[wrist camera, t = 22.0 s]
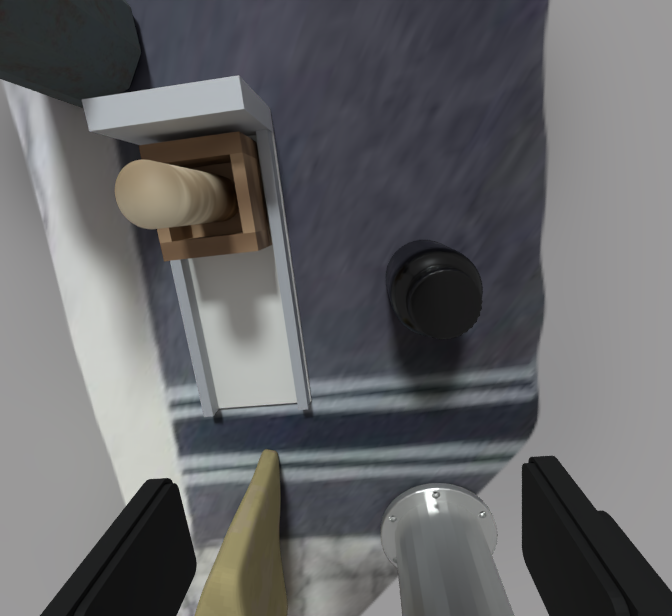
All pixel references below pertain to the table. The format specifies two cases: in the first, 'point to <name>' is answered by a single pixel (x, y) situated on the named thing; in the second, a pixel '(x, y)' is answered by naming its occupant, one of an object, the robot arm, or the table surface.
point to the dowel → (173, 195)
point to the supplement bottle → (434, 289)
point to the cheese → (250, 553)
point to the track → (231, 269)
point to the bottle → (68, 47)
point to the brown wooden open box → (244, 171)
